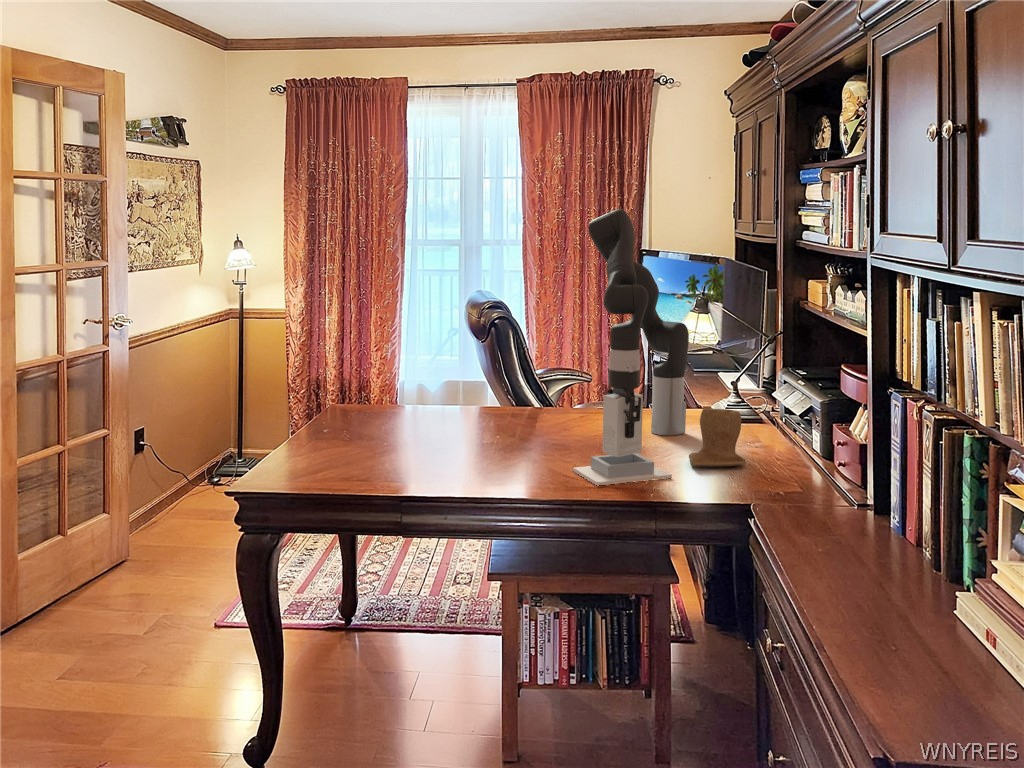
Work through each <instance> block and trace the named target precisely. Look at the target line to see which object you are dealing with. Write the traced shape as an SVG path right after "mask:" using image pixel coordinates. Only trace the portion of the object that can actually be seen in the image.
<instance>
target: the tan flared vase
mask: <svg viewBox="0 0 1024 768" xmlns="http://www.w3.org/2000/svg"><path fill="white" fill-rule="evenodd" d="M699 427H700V431H701V439H702V441H701V442H702V447H701V449H700V450H699V451H696V452H691V453H689V454H688V459H689V463H690V467H691V468H724V467H735V466H737V467H738V466H744V465H747V461H746V459H745V458H743V457H742V456H740V455H738V454H737V452H736V446H737V442H738V439H739V437H740V434H741V429H742V415H741V413H740V411H738V410H733V409H722V408H709V407H707V408H703V409H702V410H701V413H700V417H699Z"/></svg>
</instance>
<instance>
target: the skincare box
mask: <svg viewBox="0 0 1024 768" xmlns="http://www.w3.org/2000/svg"><path fill="white" fill-rule="evenodd" d="M634 394H635V397H641V411H640V421H637V422H635V423H634V437H633V438H626V437H625V423H626V422H625V413H624V412H623V410H625V409H626V410H629V402H628V405H627V404H626V401H625V397H623V396H621V395H619V394H616V393H615V394H609V395H607V394H603V401H602V402H603V403H602V404H603V405H602V407H603V408H602V412H603V413H602V414H603V416H602V453H603V454H606V455H612V456H614V457H621V456H626V455H630V454H635V453H637V454H640V453H642V452H643V451H642V446H643V443H642V441H643V410H644V409H643V405H644V404H643V403H644V401H643V400H644V399H643V398H644V395H643V394H641V393H640V394H639V393H636V392H634ZM619 396H621V397H619ZM635 416H636V412H635ZM628 418H629V413H628Z"/></svg>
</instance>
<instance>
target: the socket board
mask: <svg viewBox="0 0 1024 768" xmlns="http://www.w3.org/2000/svg"><path fill="white" fill-rule="evenodd" d="M573 471H574V474H576V475H578V474H579V476H580V477H581V476H582V477H581V478H583V477H584V478H583V479H585V480H586V479H587V480H586V481H588V482H589V481H590V482H589V483H591V482H592V483H591V484H593V483H594V484H595V485H594V484H593V485H594V486H596V485H597V486H596V487H600V486H599V485H606V486H609V485H608V484H615V485H618V484H617V483H623V482H633V481H641V480H642V481H643V480H652V479H663V478H672V479H673V474H671V473H669V472H667V471H665V470H663V469H661V468H659V467H658V466H655V461H653V460H651V459H648V458H647V457H645V456H643V455H641V454H640V453H635V454H630V455H626V456H621V457H614V456H612V455H609V454H606V455H595V456H590V465H589V466H587V465H586V466H577V467H573ZM573 471H572V472H573Z"/></svg>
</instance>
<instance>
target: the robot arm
mask: <svg viewBox="0 0 1024 768" xmlns="http://www.w3.org/2000/svg"><path fill="white" fill-rule="evenodd" d="M587 226H588V227H587V228H588V229H587V230H588V233H589V236H590V238H591V240H592V242H593V244H594V245H595V247H596V248H597V251H599V254H600V255H601V256H602V258H603V259H604V261H605V262H606V267H605V268H606V269H605V270H606V276H607V277H606V278H607V286H606V289H605V291H604V295H603V306H604V309H605V310H606V312H608V313H610V314H611V315H631V317H630V319H628V320H627V321H625V322H622V323H617V324H614V325H612V326H611V328H610V336H609V337H610V341H609V342H610V343H609V346H610V347H609V348H610V350H609V355H608V379H607V381H608V386H609V387H610V388H607V389H606V395H609V394H615V393H616V394H619V395H621V396H623V397H625V401H626V404H627V405H628V402H629V410H626V409H625V410H623V412H624V413H625V422H626V423H625V437H626V438H633V437H634V423H635V422H637V421H640V411H641V397H635V394H634V393H635V389H637V388H639V387H640V383H641V381H640V377H641V376H640V375H641V374H640V373H641V355H640V337H641V328H642V331H643V333H644V336H645V339H646V340H647V343H648V346H649V347H650V348H651V349H652V350H653V351H656V352H658V353H663V354H664V353H666V354H668V355H667V359H666V360H665V361H664V362H662V363H658V364H655V365H654V366H653V368H652V369H653V370H652V391H651V392H652V394H651V395H652V396H651V425H650V426H651V433H652V434H654V435H660V436H679V435H682V434H686V426H687V425H686V424H687V423H686V421H687V420H686V419H687V401H685V399H684V397H685V396H684V395H685V393H684V391H685V372H686V368H687V364H688V353H689V341H690V338H689V336H690V334H689V329H688V326H687V325H686V324H685V323H684V322H678V321H665V320H663V319H661V317H660V315H659V314H658V311H657V310H656V309H657V308H656V307H657V304H658V302H659V301H658V300H659V297H660V296H659V295H660V291H659V286H658V283H657V282H656V280H655V278H654V276H653V274H652V273H651V271H650V270H649V268H647V267H646V266H644V265H642V264H641V263H639V262H637V261H634V253H635V229H634V225H633V222H632V220H631V218H630V216H629V215H628V213H627V212H626V210H625V209H622V208H617V209H614V210H612V211H609V212H608V213H605V214H603V215H601V216H600V215H599V217H596V218H594V219H592V220H591V221H589V223H588V225H587ZM621 396H619V397H621ZM635 412H636V416H635ZM628 413H629V418H628Z"/></svg>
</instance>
